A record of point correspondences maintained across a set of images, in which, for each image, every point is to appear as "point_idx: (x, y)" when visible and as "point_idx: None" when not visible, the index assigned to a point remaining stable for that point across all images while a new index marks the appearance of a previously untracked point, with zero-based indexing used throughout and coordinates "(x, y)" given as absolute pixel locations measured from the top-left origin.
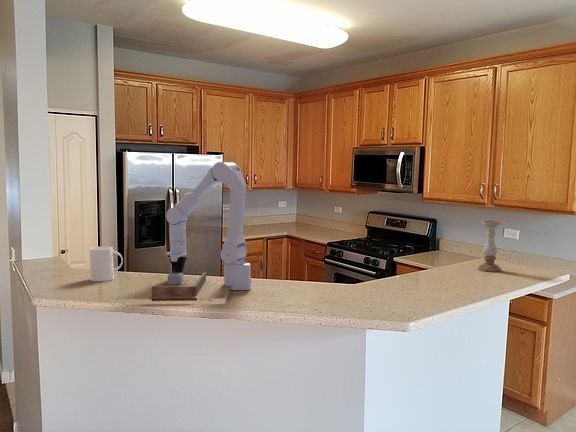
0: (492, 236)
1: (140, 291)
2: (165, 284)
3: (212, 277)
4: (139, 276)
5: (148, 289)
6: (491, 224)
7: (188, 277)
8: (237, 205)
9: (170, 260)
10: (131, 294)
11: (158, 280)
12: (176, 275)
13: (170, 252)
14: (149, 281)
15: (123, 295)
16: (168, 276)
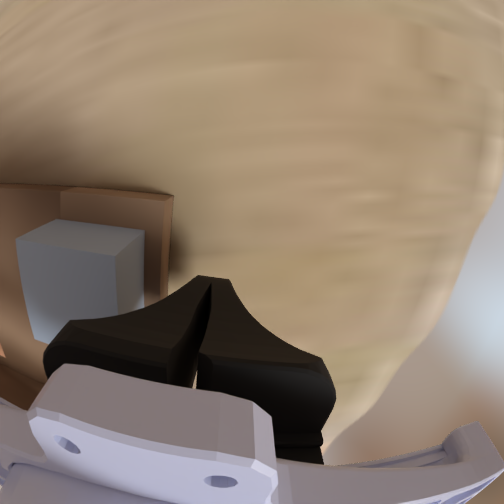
0: None
1: (40, 55)
2: (54, 201)
3: (328, 427)
4: (460, 15)
5: (68, 83)
6: None
7: (380, 324)
8: None
9: (50, 343)
10: (7, 41)
11: (346, 107)
12: (32, 311)
13: (32, 485)
14: (322, 41)
15: (7, 16)
16: (19, 244)
